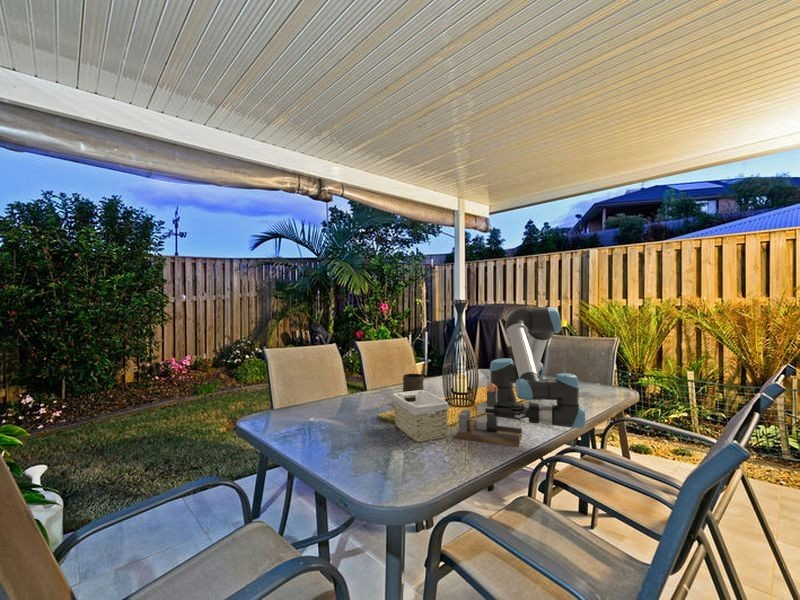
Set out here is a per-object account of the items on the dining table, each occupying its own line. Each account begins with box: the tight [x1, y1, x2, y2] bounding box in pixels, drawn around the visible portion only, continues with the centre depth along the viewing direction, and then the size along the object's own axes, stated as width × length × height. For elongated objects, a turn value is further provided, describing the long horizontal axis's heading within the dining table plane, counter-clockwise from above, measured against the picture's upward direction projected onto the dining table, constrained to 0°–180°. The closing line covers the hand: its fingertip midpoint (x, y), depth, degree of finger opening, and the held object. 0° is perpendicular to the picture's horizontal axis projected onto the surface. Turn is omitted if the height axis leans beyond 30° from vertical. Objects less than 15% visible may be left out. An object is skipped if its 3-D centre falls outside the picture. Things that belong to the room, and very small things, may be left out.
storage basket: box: [392, 389, 450, 443], centre depth 157 cm, size 24×16×15 cm
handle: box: [476, 383, 499, 433], centre depth 150 cm, size 7×8×19 cm
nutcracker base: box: [455, 408, 523, 447], centre depth 149 cm, size 12×24×9 cm, turn 66°
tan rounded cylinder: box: [468, 418, 478, 432], centre depth 152 cm, size 4×4×4 cm
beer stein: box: [402, 373, 425, 402], centre depth 181 cm, size 15×11×20 cm
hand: (478, 407), depth 151 cm, fingers closed on handle, 3 cm apart
